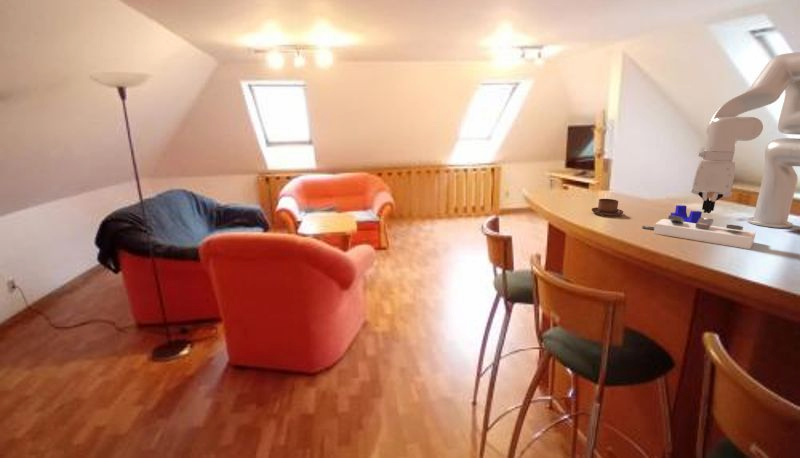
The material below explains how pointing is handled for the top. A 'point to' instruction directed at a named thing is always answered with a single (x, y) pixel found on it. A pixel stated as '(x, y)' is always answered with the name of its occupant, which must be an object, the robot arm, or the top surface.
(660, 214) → the top surface
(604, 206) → the cup and saucer
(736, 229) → the grey rectangular block
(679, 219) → the grey flat block
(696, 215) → the cable clip
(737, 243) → the power strip
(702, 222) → the block
